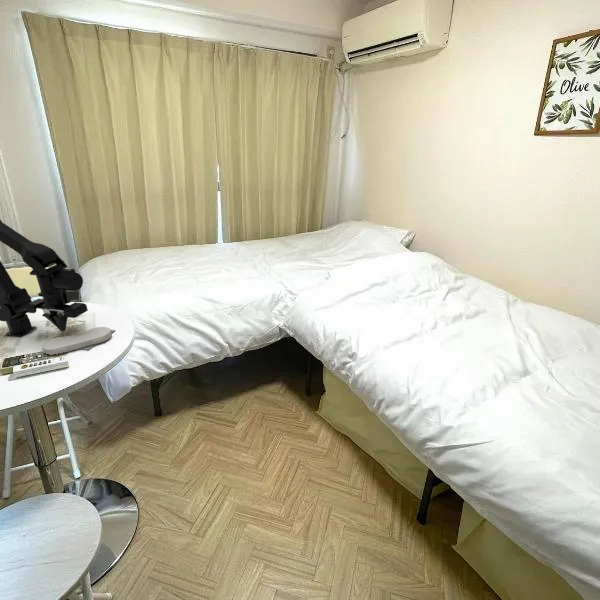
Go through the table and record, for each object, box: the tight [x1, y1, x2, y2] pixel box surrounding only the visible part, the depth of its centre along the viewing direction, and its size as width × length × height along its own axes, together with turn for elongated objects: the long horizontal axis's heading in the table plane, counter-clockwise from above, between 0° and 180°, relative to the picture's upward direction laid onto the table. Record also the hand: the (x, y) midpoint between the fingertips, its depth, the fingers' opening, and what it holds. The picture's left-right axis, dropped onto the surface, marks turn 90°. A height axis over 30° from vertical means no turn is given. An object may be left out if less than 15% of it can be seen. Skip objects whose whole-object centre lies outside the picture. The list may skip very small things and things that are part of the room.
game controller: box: [41, 326, 113, 356], centre depth 121 cm, size 20×2×8 cm
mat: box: [78, 329, 116, 351], centre depth 125 cm, size 8×13×1 cm, turn 167°
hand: (63, 330), depth 126 cm, fingers closed
